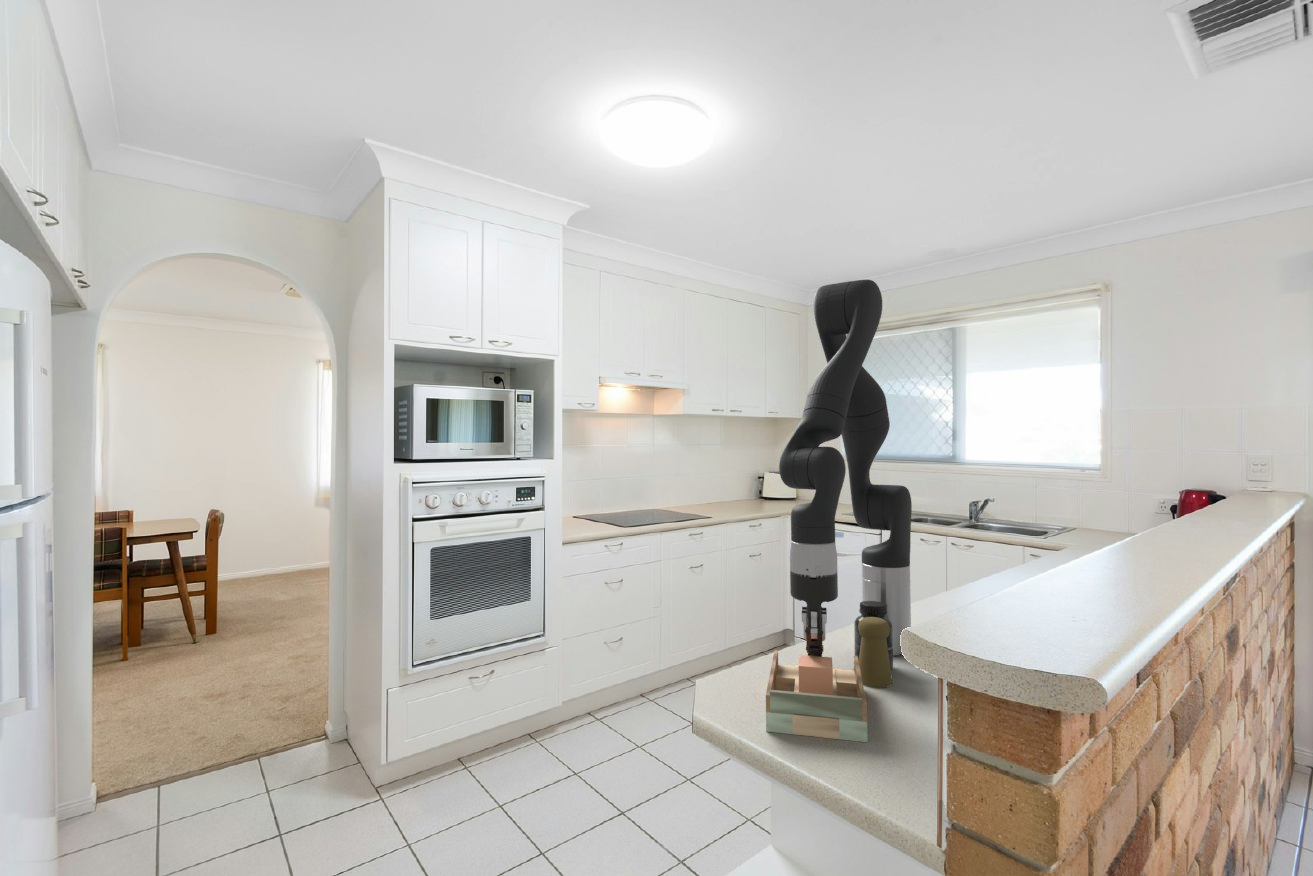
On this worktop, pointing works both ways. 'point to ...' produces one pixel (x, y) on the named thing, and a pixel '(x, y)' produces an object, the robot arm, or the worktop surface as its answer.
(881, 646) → the cork
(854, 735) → the wooden organizer box
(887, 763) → the worktop surface
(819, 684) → the block
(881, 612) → the supplement bottle
